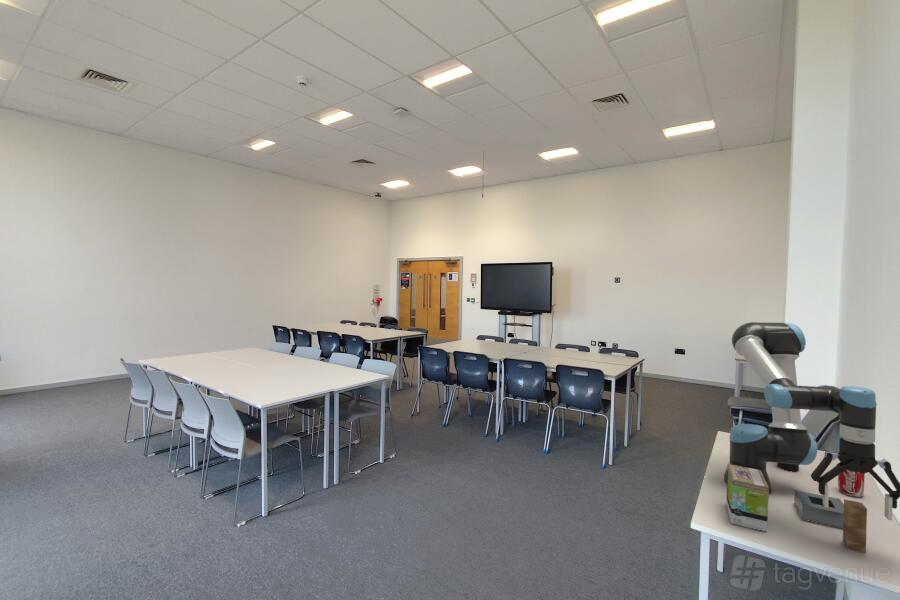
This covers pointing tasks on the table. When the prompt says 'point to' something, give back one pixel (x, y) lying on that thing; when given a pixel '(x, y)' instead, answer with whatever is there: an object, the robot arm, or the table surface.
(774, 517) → the table surface
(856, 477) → the soda can
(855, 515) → the walnut peg
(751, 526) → the tea box
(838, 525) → the socket block
